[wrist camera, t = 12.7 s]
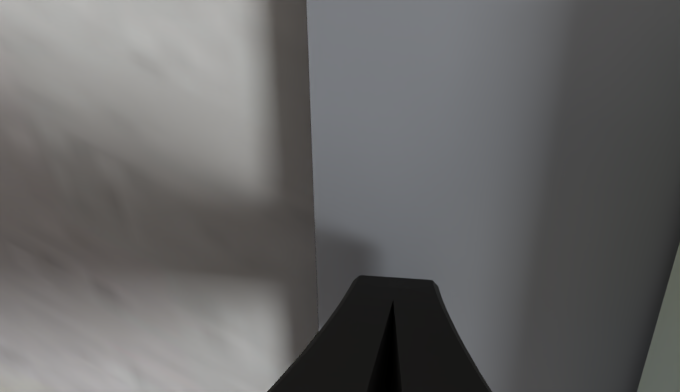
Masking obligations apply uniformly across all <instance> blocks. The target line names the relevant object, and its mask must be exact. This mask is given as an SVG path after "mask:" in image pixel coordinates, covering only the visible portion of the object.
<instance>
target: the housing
mask: <svg viewBox="0 0 680 392" xmlns="http://www.w3.org/2000/svg"><path fill="white" fill-rule="evenodd" d="M637 392H680V243H679V246H678V250H677V253H676V257H675V260H674V264H673V267H672V271H671V274H670V278H669V281H668V285H667V288H666V292H665V295H664V299H663V302H662V306H661V309H660V313H659V316H658V320H657V323H656V327H655V330H654V334H653V337H652V341H651V344H650V348H649V351H648V355H647V358H646V362H645V365H644V369H643V372H642V376H641V379H640V383H639V386H638V390H637Z"/></svg>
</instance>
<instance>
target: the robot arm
mask: <svg viewBox="0 0 680 392" xmlns="http://www.w3.org/2000/svg"><path fill="white" fill-rule="evenodd" d="M267 392H492V391H491V389H490V387H489V386H488V384H487V383H486V381H485V379H484V378H483V376H482V375H481V373H480V371H479V370H478V368H477V366H476V364H475V363H474V361H473V359H472V357H471V356H470V354H469V352H468V350H467V349H466V347H465V345H464V343H463V342H462V340H461V338H460V336H459V334H458V332H457V330H456V328H455V326H454V324H453V322H452V320H451V318H450V316H449V313H448V311H447V309H446V307H445V304H444V302H443V299H442V296H441V294H440V291H439V287H438V285H437V284H436V283H435V282H434V281H433V280H427V279H412V278H396V277H381V276H366V275H360V276H358V277H357V278H356V279H354V280H353V282H352V284H351V286H350V287H349V289H348V291H347V292H346V294H345V296H344V297H343V299H342V300H341V302H340V303H339V305H338V306H337V308H336V309H335V311H334V312H333V313H332V315H331V316H330V318H329V319H328V320H327V322H326V323H325V324H324V326H323V327H322V328H321V330H320V331H319V332H318V333H317V335H316V336H315V337H314V339H313V340H312V341H311V342H310V344H309V345H308V346H307V348H306V349H305V350H304V351H303V352H302V354H301V355H300V356H299V357H298V358H297V359H296V360H295V362H294V363H293V364H292V365H291V366H290V367H289V368H288V369H287V370H286V372H285V373H284V374H283V375H282V376H281V377H280V378H279V379H278V381H277V382H276V383H275V384H274V385H273V386H272V387H271V388H270V389H269V390H268V391H267Z"/></svg>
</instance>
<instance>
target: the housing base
mask: <svg viewBox="0 0 680 392" xmlns="http://www.w3.org/2000/svg"><path fill="white" fill-rule="evenodd" d="M306 2H307V29H308V56H309V83H310V110H311V137H312V164H313V191H314V218H315V245H316V272H317V299H318V326H319V331H320V330H321V328H322V327H323V326H324V324H325V323H326V322H327V320H328V319H329V318H330V316H331V315H332V313H333V312H334V311H335V309H336V308H337V306H338V305H339V303H340V302H341V300H342V299H343V297H344V296H345V294H346V292H347V291H348V289H349V287H350V286H351V284H352V282H353V280H354V279H356V278H357V277H358V276H360V275H366V276H381V277H396V278H412V279H427V280H433V281H434V282H435V283H436V284H437V285H438V287H439V291H440V294H441V296H442V299H443V302H444V304H445V307H446V309H447V311H448V313H449V316H450V318H451V320H452V322H453V324H454V326H455V328H456V330H457V332H458V334H459V336H460V338H461V340H462V342H463V343H464V345H465V347H466V349H467V350H468V352H469V354H470V356H471V357H472V359H473V361H474V363H475V364H476V366H477V368H478V370H479V371H480V373H481V375H482V376H483V378H484V379H485V381H486V383H487V384H488V386H489V387H490V389H491V391H492V392H637V390H638V386H639V383H640V379H641V376H642V372H643V369H644V365H645V362H646V358H647V355H648V351H649V348H650V344H651V341H652V337H653V334H654V330H655V327H656V323H657V320H658V316H659V313H660V309H661V306H662V302H663V299H664V295H665V292H666V288H667V285H668V281H669V278H670V274H671V271H672V267H673V264H674V260H675V257H676V253H677V250H678V246H679V243H680V0H306Z"/></svg>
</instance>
